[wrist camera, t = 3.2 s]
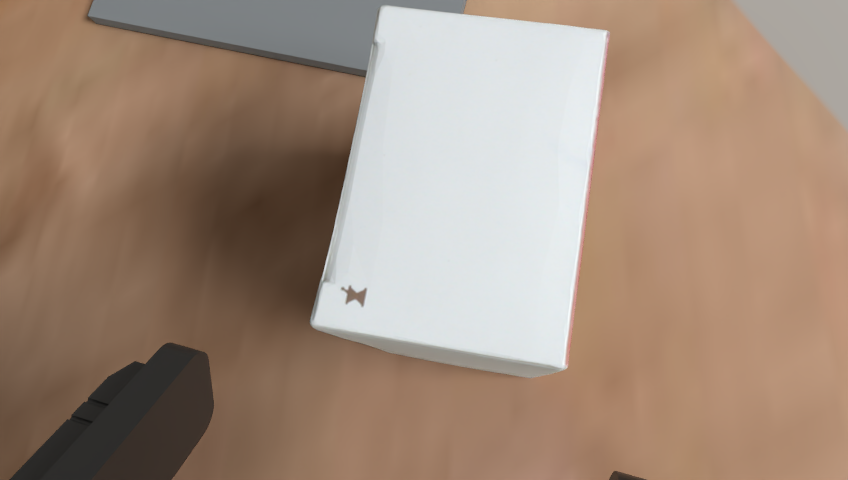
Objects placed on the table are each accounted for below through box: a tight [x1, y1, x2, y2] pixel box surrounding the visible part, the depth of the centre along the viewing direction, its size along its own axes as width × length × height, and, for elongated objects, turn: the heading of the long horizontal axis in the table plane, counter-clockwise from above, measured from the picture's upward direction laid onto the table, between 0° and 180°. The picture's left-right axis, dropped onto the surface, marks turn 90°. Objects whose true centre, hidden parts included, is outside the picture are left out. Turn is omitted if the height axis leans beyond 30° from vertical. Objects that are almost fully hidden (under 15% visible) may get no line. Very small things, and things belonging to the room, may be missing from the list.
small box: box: [310, 5, 610, 378], centre depth 19 cm, size 8×6×10 cm
